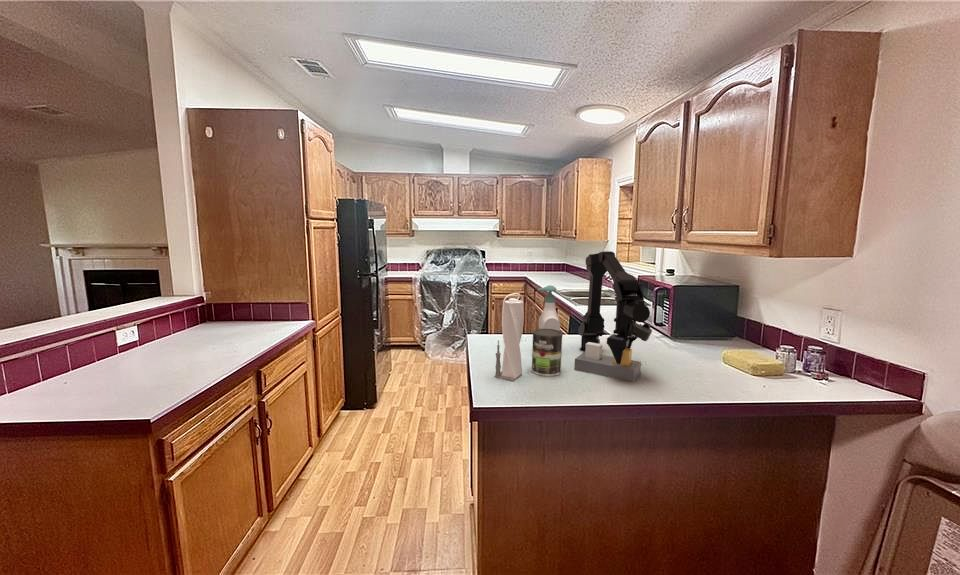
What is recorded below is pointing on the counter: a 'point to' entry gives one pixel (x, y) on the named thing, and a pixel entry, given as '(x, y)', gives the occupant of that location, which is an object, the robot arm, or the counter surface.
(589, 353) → the white rectangular block
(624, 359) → the amber plug
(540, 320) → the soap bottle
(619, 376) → the block
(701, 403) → the counter surface
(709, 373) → the counter surface
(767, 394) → the counter surface
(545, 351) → the coffee can
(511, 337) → the skyscraper
